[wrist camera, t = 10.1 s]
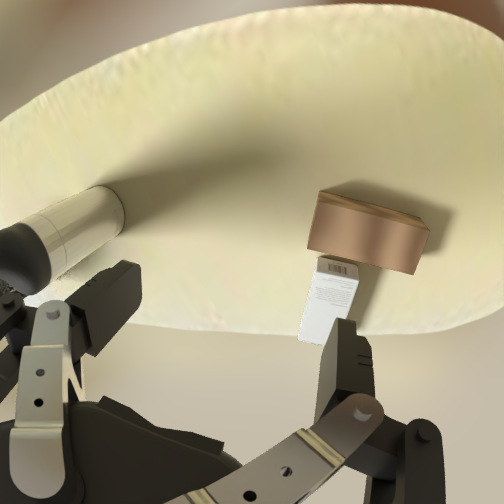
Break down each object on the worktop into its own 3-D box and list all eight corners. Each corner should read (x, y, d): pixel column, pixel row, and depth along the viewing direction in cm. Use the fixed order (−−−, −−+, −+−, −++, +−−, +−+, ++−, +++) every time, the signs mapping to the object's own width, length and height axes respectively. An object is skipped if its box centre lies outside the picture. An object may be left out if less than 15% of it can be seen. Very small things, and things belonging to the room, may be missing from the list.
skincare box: (317, 254, 43) (298, 321, 49) (315, 271, 39) (295, 340, 45) (359, 265, 42) (336, 330, 48) (362, 282, 38) (335, 349, 44)
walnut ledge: (309, 233, 42) (306, 248, 37) (319, 191, 39) (318, 201, 35) (405, 257, 40) (413, 275, 35) (419, 218, 37) (430, 231, 33)
